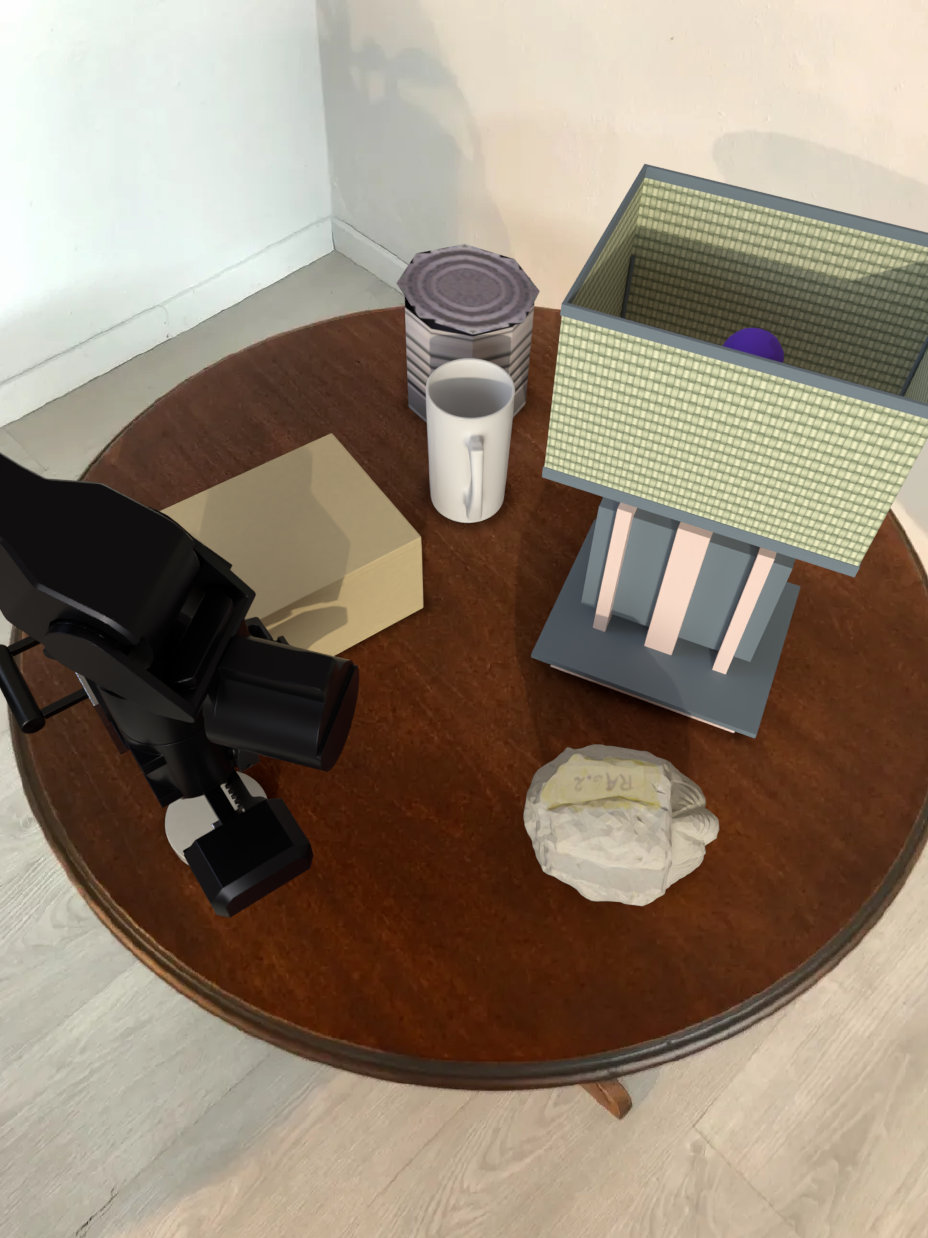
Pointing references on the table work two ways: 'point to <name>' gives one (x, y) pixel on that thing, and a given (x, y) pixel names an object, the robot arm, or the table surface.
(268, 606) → the tan cardboard box
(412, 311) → the can
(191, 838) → the cylinder
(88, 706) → the table surface
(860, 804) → the table surface
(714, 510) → the desk lamp
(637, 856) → the fossil replica
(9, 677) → the drawer
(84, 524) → the robot arm
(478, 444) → the mug
